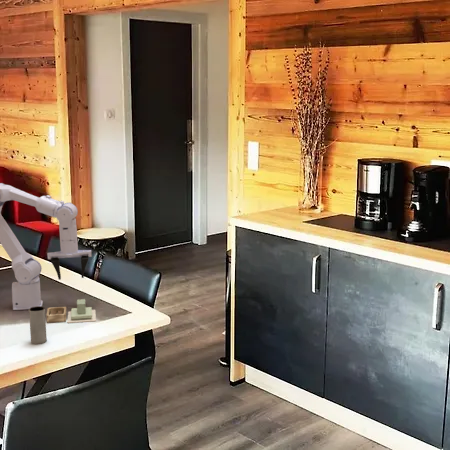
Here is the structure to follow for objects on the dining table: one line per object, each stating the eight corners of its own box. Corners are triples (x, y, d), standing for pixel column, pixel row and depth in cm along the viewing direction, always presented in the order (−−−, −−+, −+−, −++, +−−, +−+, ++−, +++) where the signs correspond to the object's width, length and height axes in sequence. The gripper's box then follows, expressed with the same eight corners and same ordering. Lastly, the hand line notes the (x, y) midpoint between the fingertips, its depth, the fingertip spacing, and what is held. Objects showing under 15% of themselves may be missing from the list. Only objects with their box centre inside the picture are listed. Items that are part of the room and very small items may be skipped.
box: (46, 323, 216) (46, 315, 216) (48, 315, 224) (47, 307, 224) (66, 321, 218) (65, 314, 217) (66, 313, 225) (66, 306, 225)
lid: (71, 320, 218) (70, 306, 217) (71, 312, 226) (71, 298, 225) (92, 319, 219) (91, 305, 218) (91, 311, 227) (91, 297, 226)
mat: (67, 323, 216) (67, 322, 216) (68, 312, 227) (68, 311, 227) (95, 321, 218) (95, 320, 218) (95, 310, 229) (95, 309, 228)
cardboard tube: (32, 338, 203) (30, 306, 201) (47, 338, 203) (46, 305, 201) (29, 344, 198) (27, 311, 196) (45, 344, 199) (43, 310, 197)
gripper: (45, 243, 222) (48, 282, 225) (90, 240, 225) (92, 279, 228) (47, 238, 229) (49, 277, 232) (90, 236, 232) (92, 274, 234)
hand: (71, 278), depth 230 cm, fingers open, 7 cm apart
